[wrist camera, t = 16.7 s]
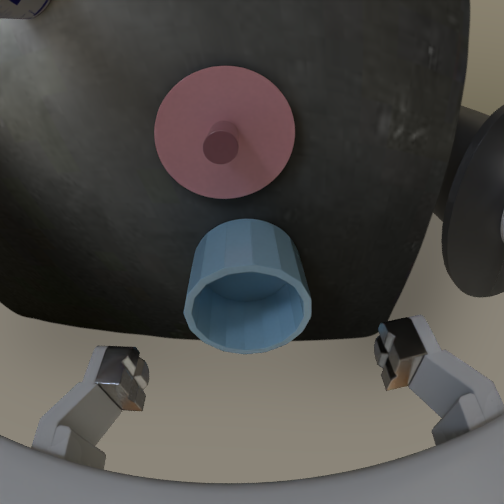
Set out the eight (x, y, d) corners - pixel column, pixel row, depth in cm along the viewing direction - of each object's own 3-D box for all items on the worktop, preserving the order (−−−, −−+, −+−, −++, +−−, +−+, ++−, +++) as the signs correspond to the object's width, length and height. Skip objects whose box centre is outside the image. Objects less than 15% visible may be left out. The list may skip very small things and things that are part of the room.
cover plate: (286, 58, 23) (298, 55, 18) (297, 186, 31) (309, 212, 26) (145, 81, 24) (122, 86, 19) (172, 203, 32) (160, 232, 27)
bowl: (295, 212, 33) (311, 257, 26) (299, 296, 40) (310, 346, 33) (182, 226, 33) (168, 274, 26) (206, 307, 40) (201, 357, 33)
